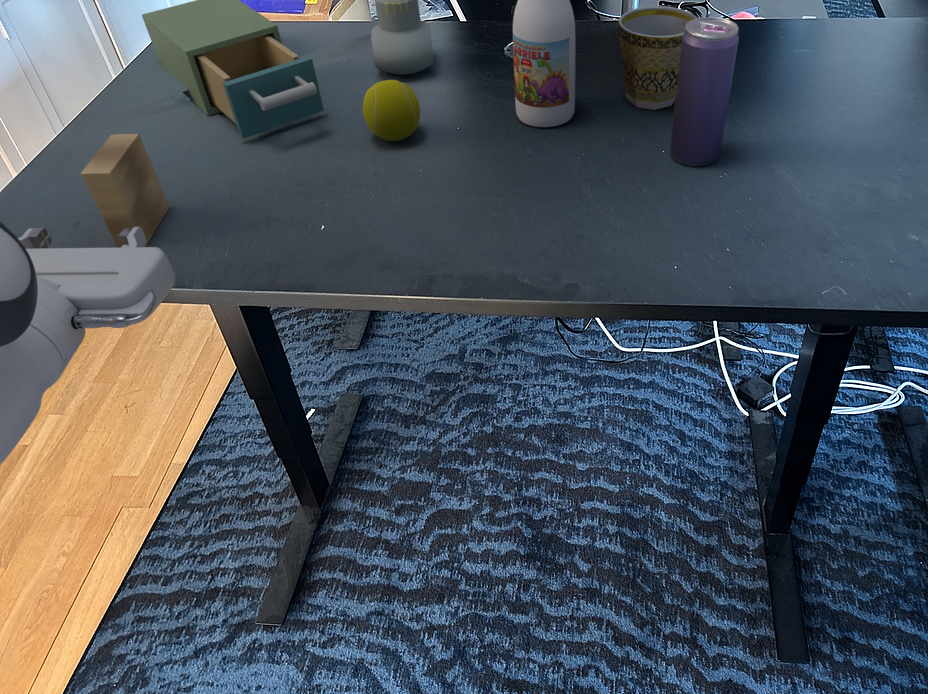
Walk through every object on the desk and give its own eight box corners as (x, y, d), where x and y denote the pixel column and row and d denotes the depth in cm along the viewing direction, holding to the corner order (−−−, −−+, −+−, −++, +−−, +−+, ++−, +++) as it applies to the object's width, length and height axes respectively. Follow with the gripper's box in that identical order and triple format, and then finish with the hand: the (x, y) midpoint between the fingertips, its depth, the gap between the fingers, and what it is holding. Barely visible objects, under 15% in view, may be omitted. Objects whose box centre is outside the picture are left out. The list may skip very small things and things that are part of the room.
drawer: (341, 123, 99) (329, 70, 94) (259, 153, 95) (242, 99, 90) (273, 72, 110) (260, 23, 105) (197, 96, 106) (179, 46, 101)
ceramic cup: (679, 120, 99) (689, 40, 92) (605, 109, 102) (608, 31, 94) (700, 78, 107) (710, 1, 100) (631, 69, 110) (636, -6, 103)
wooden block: (145, 248, 83) (109, 172, 76) (117, 248, 83) (79, 173, 76) (170, 206, 88) (139, 133, 82) (144, 207, 88) (111, 133, 82)
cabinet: (293, 88, 109) (277, 25, 102) (208, 116, 103) (185, 51, 97) (245, 52, 118) (227, -9, 112) (164, 76, 113) (141, 14, 106)
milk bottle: (528, 98, 105) (523, -68, 90) (582, 106, 103) (585, -63, 88) (507, 124, 100) (497, -47, 85) (563, 133, 98) (563, -41, 83)
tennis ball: (417, 120, 101) (410, 66, 96) (428, 145, 96) (421, 90, 91) (364, 128, 100) (354, 75, 95) (373, 154, 95) (362, 99, 90)
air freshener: (436, 80, 109) (427, 6, 102) (377, 85, 108) (364, 11, 101) (432, 49, 117) (423, -23, 109) (377, 54, 116) (365, -18, 109)
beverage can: (714, 171, 90) (735, 40, 79) (664, 163, 92) (678, 34, 81) (723, 147, 94) (745, 19, 83) (675, 140, 96) (690, 13, 85)
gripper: (127, 296, 63) (182, 203, 73) (-116, 299, 64) (-30, 206, 73) (156, 352, 68) (204, 258, 77) (-71, 354, 69) (5, 260, 78)
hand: (89, 233), depth 75 cm, fingers open, 8 cm apart
